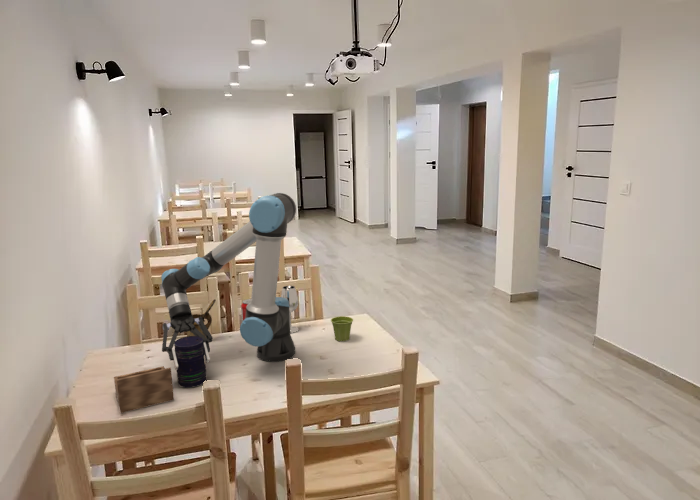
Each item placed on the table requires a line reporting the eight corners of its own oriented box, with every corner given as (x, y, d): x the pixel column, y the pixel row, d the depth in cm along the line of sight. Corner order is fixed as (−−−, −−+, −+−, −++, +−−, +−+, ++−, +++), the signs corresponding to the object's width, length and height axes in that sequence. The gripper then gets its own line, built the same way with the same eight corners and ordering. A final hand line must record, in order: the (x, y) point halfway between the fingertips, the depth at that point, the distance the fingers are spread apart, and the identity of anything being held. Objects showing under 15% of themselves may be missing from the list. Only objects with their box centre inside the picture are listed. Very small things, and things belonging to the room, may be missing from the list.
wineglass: (279, 333, 219) (277, 289, 215) (284, 326, 227) (282, 284, 223) (296, 333, 218) (294, 290, 214) (301, 327, 225) (299, 285, 221)
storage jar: (179, 390, 168) (174, 348, 165) (176, 378, 177) (172, 338, 174) (209, 384, 172) (205, 343, 169) (205, 372, 181) (201, 334, 178)
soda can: (239, 333, 219) (237, 301, 216) (253, 328, 225) (251, 297, 222) (249, 338, 214) (247, 304, 211) (264, 333, 220) (262, 300, 216)
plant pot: (333, 334, 216) (332, 315, 215) (354, 335, 215) (354, 316, 213) (329, 342, 207) (329, 323, 206) (351, 343, 206) (351, 323, 204)
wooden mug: (218, 343, 209) (215, 302, 205) (184, 346, 206) (181, 304, 203) (219, 335, 217) (216, 296, 214) (187, 338, 215) (183, 298, 211)
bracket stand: (165, 380, 176) (162, 351, 174) (174, 399, 162) (171, 368, 160) (115, 392, 168) (112, 361, 166) (120, 413, 154) (116, 380, 152)
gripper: (208, 308, 189) (223, 361, 179) (146, 318, 178) (157, 376, 168) (211, 298, 183) (226, 352, 173) (146, 308, 173) (158, 367, 162)
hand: (192, 364), depth 171 cm, fingers closed on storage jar, 10 cm apart
